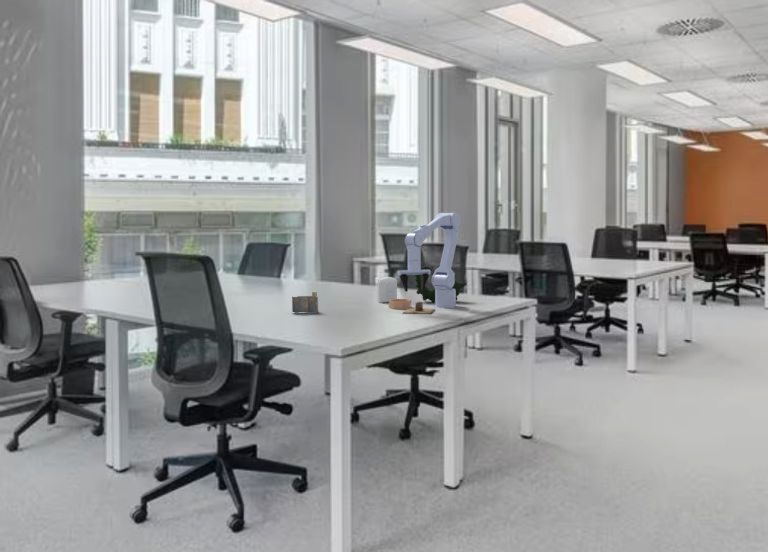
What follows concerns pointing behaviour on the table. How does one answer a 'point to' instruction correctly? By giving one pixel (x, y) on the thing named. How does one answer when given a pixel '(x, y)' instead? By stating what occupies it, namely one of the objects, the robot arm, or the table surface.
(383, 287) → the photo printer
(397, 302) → the bowl
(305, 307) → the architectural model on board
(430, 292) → the toy figurine
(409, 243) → the robot arm
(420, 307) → the lid
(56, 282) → the table surface
